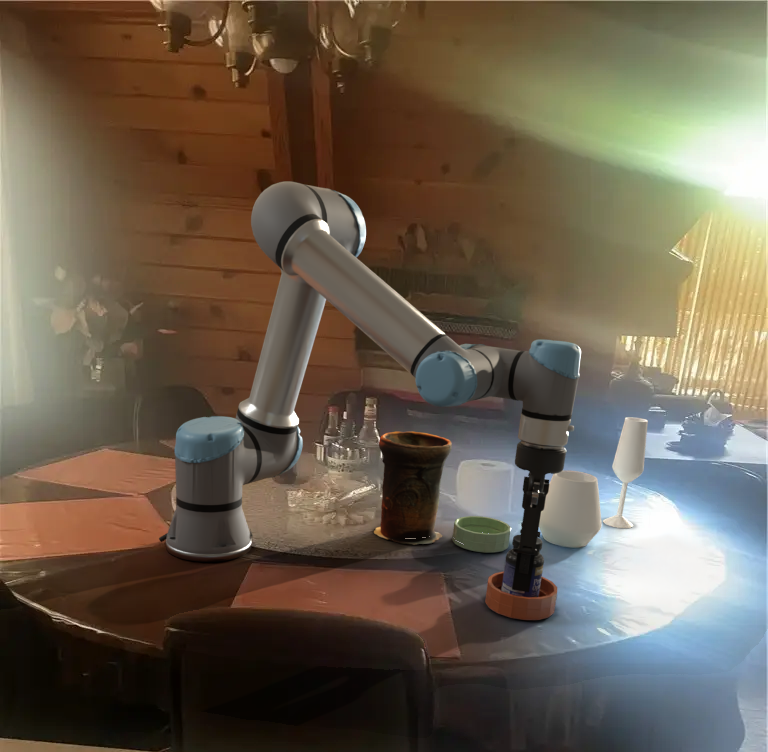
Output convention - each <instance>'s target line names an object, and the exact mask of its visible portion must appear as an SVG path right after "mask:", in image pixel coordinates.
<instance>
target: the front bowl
mask: <svg viewBox="0 0 768 752" xmlns="http://www.w3.org/2000/svg"><path fill="white" fill-rule="evenodd" d="M503 574H504V570H503V571H499V572H498V571H497V572H494V573H492V574H491V575H489V576H488V579H487V584H486V593H485V600H484V603H485V604H486V606H487V607H488V608H489V609H490V610H492V611H493V612H495V613H496V614H498V615H501V616H504V617H508V618H510V619H516V620H520V621H521V620H522V621H540V620H544V619H548V618H550V617H551V616H552V615H553V614H555V610H556V604H557V597H558V586H557V585H556V584H555V583H554V582H553V581H552V580H550V579H548V578H546V577H544V576H542V577H541V584H540V590H539V596H538V597H522V596H516V595H512V594H509V593H506V592H503V591H501V588H502V581H503Z"/></svg>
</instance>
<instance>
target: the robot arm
mask: <svg viewBox="0 0 768 752" xmlns="http://www.w3.org/2000/svg"><path fill="white" fill-rule="evenodd" d="M250 225H251V230H252V234H253V237H254V241H255V242H256V243H257V245H258V247H259V248H260V250H261V251H262V252H263V253H264V254H265V256H267V257H268V259H270V260H271V261H272V262H273V263H274V264H275V265H276V266H277V267H278V268H279V269H280V272H281V275H280V278H279V282H278V286H277V291H276V294H275V297H274V301H273V306H272V309H271V314H270V318H269V320H268V325H267V328H266V333H265V336H264V339H263V343H262V348H261V351H260V355H259V359H258V364H257V366H256V371H255V375H254V377H253V382H252V386H251V389H250V394H249V397H248V398H246V399H244V400H242V401H240V402H239V404H238V407H237V410H236V415H235V417H230V416H222V415H211V416H209V417H208V416H207V417H206V416H203V417H196V418H193V419H190V420H188V421H185V422H184V423H182V424H181V425H180V426H179V428H177V430H176V433H175V445H174V448H173V449H174V451H173V452H174V458H175V459H174V460H175V461H174V464H175V466H174V468H175V509H174V512H173V516H172V518H171V522H170V524H169V527H168V530H167V532H166V533H164V534H163V535H162V536H159V538H158V540H159V542H161V543H163V542H164V541H165V548H166V551H167V552H168V553H169V554H170V555H172V556H174V557H177V558H179V559H181V560H186V561H191V562H202V563H212V562H214V563H216V562H225V561H231V560H234V559H237V558H240V557H243V556H244V555H246V554H248V553H249V552H250V551H251V549H252V539H253V532H252V530H251V528H249V525H248V522H247V519H246V516H245V513H244V510H243V486H245V485H248V484H252V483H255V482H259V481H262V480H266V479H272V478H276V477H278V476H280V475H283V474H284V473H286V472H289V470H291V469H292V468H293V467H294V466H295V465H296V464H297V463H298V461H299V459H300V457H301V454H302V452H303V451H302V450H303V446H304V445H303V444H304V443H303V442H304V441H303V437H302V436H301V435H300V434H301V429H300V427H299V425H300V418H299V417H298V415H297V413H296V412H295V408H296V405H297V401H298V398H299V394H300V390H301V389H302V384H303V380H304V377H305V374H306V370H307V366H308V363H309V360H310V357H311V353H312V350H313V346H314V343H315V339H316V336H317V332H318V329H319V325H320V322H321V318H322V316H323V312H324V308H325V304H326V301H327V302H329V303H330V304H331V305H332V306H333V307H334V308H335V309H336V310H338V312H340V313H341V314H342V315H343V316H344V317H345V318H346V319H348V320H349V321H350V322H351V323H352V324H353V325H354V326H355V327H357V328H358V329H359V330H360V331H361V332H363V333H364V334H365V335H366V336H367V337H368V338H369V339H370V340H371V341H373V342H374V343H375V344H376V345H377V346H378V347H379V348H381V349H382V351H384V352H385V353H386V354H388V355H389V356H390V357H391V358H392V359H393V360H394V361H396V362H397V364H399V365H400V366H401V367H402V368H403V369H404V370H405V371H407V372H408V373H409V374H410V375H411V376H412V377H414V379H415V385H416V388H417V392H418V393H419V396H420V397H421V398H422V400H424V401H425V402H427V404H429V405H431V406H434V407H438V408H439V407H440V408H445V407H447V408H449V407H458V406H462V405H463V404H466V403H468V402H469V403H470V402H473V401H477V400H483V399H485V398H489V397H492V398H500V399H506V400H513V401H518V402H519V401H520V402H522V409H521V412H520V419H519V426H518V433H517V439H519V441H518V443H517V444H516V449H515V457H514V464H515V466H516V467H517V468H518V469H520V470H522V471H527V472H528V474H527V476H524V477H523V482H522V483H523V484H522V492H523V494H522V501H521V502H522V503H521V508H522V509H523V514H522V522H521V523H520V526H521V527H520V529H519V534H520V535H521V538H520V545H519V547H518V548H514V552H517V558H516V565H515V572H514V579H513V585H512V590H518V591H524V592H529V589H530V583H531V576H532V570H533V564H534V557H535V553H536V549H535V548H536V542H537V537H538V538H540V539H541V534H542V533H541V531H539V530H540V528H539V522H540V516H541V511H543V510H544V507H545V500H546V495H547V494H548V491H549V483H550V479H547V478H546V475H548V474H551V475H553V474H556V473H559V472H561V471H562V470H565V462H566V455H567V449H566V447H565V446H566V445H567V444H568V440H569V437H570V435H569V432H570V433H572V432H574V431H575V425H572V424H571V422H572V417H573V410H574V404H575V399H576V394H577V389H578V383H579V379H580V366H581V356H582V350H581V348H580V346H579V345H578V344H576V343H573V342H569V341H564V340H552V339H535V340H533V341H532V342H531V343H530V348H529V349H528V350H517V349H510V348H504V347H496V346H492V345H491V346H490V345H485V344H481V343H478V344H477V343H473V344H471V343H464V344H463V343H461V344H460V345H459V344H458V343H457V342H455V341H454V340H453V339H452V338H451V337H449V336H448V335H447V334H446V332H444V331H443V330H442V329H440V327H438V326H437V325H436V324H435V323H434V322H432V321H431V320H430V319H429V318H427V317H426V316H425V315H424V314H423V313H422V312H421V311H420V310H418V308H416V307H415V306H414V305H412V304H411V303H410V302H409V301H408V300H406V298H404V297H403V296H402V295H401V294H400V293H398V292H397V291H396V290H395V289H394V288H393V287H391V286H390V285H389V284H388V283H387V282H386V281H385V280H383V279H382V277H380V276H379V275H377V274H376V273H375V272H374V271H373V270H371V268H369V267H368V266H367V265H365V264H364V263H363V262H362V261H361V260H360V259H358V257H359V255H360V254H361V253H362V251H363V248H364V246H365V244H366V243H365V242H366V238H367V237H366V236H367V227H366V221H365V217H364V215H363V212H362V210H361V209H360V207H359V205H358V204H357V203H356V202H355V200H353V199H352V198H351V197H350V196H348V195H346V194H343V193H341V192H339V191H336V190H334V189H330V188H325V187H321V186H320V187H319V186H314V185H308V184H303V183H300V182H296V181H280V182H277V183H274V184H271V185H270V186H268V187H267V188H265V189H264V190H263V191H261V192H260V194H259V196H258V197H257V199H256V200H255V202H254V205H253V207H252V211H251V216H250Z"/></svg>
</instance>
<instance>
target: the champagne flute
mask: <svg viewBox="0 0 768 752" xmlns="http://www.w3.org/2000/svg"><path fill="white" fill-rule="evenodd" d="M623 421H624V422H623V425H622V429H621V433H620V436H619V440H618V442H617V443H618V444H617V448H616V451H615V454H614V458H613V462H612V465H611V466H612V467H611V468H612V471H613V473H614V475H615V476H616V477H617V479H618V480H619V481H621V483H622V484H621V487H620V495H619V500H618V506H617V510H616V511H617V512H616V514H615V515H612V516H610V517H607V518H604V519H603V520H602V522H603V523H604V524H605V525H606V526H609V527H612V528H618V529H631V528H633V527H634V524H633V523H632V522H631V521H629V519H627V518H626V517H624V515H623V512H624V507H625V502H626V496H627V490H628V484H629V483H632V482H634V481H635V480H636V479H638V478H639V477H640V476H641V475H642V474H643V473H644V470H645V468H644V467H645V459H646V458H645V457H646V446H647V445H646V444H647V435H648V434H647V433H648V424H649V423H648V422H649V421H648V420H647V419H645V418H641V417H632V416H627V417H625V418H624V420H623Z"/></svg>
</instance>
